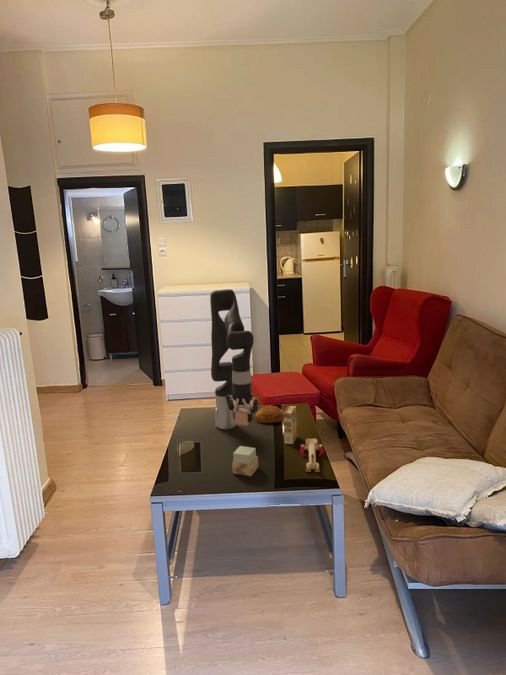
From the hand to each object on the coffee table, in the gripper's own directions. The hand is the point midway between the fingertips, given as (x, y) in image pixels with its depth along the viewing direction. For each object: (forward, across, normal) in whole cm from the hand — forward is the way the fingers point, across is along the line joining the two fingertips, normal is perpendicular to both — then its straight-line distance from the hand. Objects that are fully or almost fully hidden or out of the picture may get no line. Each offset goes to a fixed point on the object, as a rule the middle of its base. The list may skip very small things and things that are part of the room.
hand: (243, 420), depth 198 cm
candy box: (+22, +9, +33) cm, 40 cm away
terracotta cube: (+1, 0, 0) cm, 1 cm away
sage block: (+17, 0, 0) cm, 17 cm away
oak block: (+22, 0, 0) cm, 22 cm away
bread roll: (+22, -9, +55) cm, 60 cm away
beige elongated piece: (+22, +23, +18) cm, 37 cm away
